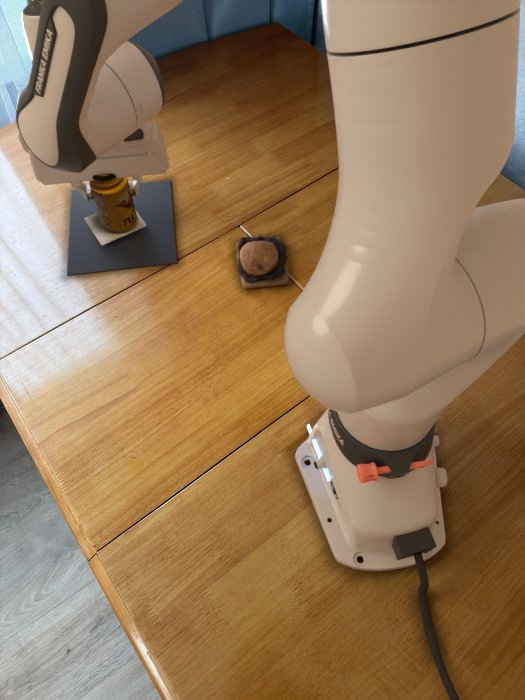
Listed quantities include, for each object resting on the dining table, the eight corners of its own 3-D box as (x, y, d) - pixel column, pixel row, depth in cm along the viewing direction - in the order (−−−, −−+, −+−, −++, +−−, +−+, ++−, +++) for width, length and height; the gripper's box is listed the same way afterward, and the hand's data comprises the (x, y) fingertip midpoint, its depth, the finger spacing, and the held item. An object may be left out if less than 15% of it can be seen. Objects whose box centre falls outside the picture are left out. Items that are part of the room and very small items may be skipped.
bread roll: (291, 286, 86) (292, 271, 82) (239, 290, 85) (239, 276, 82) (282, 237, 91) (283, 221, 88) (233, 241, 90) (233, 225, 87)
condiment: (147, 226, 91) (133, 170, 81) (102, 246, 89) (81, 191, 78) (128, 200, 94) (112, 143, 84) (84, 219, 92) (62, 163, 82)
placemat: (177, 263, 88) (176, 262, 88) (67, 275, 87) (66, 274, 86) (170, 180, 98) (170, 180, 98) (72, 190, 97) (71, 189, 97)
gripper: (11, 142, 72) (46, 216, 84) (161, 128, 74) (175, 202, 86) (15, 113, 75) (49, 188, 87) (159, 100, 77) (173, 176, 89)
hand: (112, 195), depth 86 cm, fingers closed on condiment, 6 cm apart
